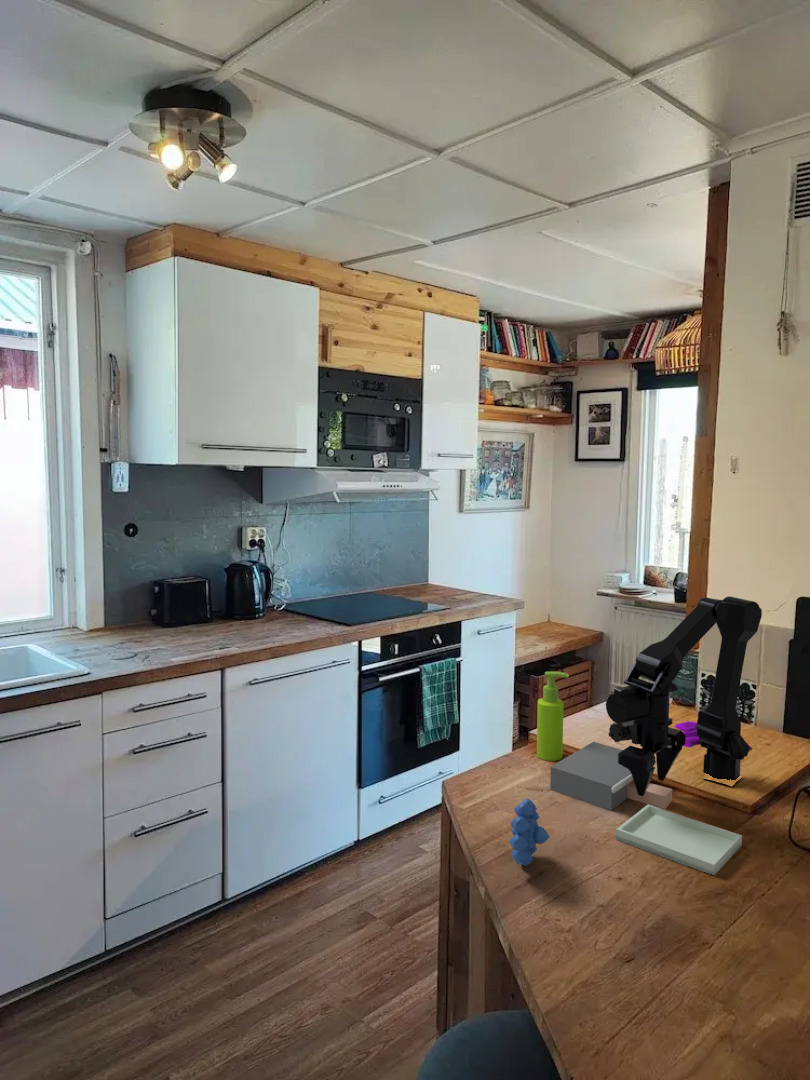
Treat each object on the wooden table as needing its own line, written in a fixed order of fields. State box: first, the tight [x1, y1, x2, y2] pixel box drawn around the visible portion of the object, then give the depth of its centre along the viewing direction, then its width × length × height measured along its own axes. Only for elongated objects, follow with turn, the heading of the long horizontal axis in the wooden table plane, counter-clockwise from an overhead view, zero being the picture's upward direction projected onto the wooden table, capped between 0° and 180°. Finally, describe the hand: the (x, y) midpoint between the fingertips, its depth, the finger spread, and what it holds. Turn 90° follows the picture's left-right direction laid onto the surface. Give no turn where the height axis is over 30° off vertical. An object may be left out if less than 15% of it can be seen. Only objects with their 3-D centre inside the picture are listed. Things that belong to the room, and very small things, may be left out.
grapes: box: [508, 798, 550, 867], centre depth 134 cm, size 12×7×12 cm, turn 159°
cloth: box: [674, 721, 752, 749], centre depth 192 cm, size 22×19×6 cm
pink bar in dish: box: [626, 780, 673, 810], centre depth 161 cm, size 14×4×3 cm, turn 52°
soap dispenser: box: [536, 671, 570, 762], centre depth 180 cm, size 6×7×20 cm
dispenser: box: [549, 741, 657, 811], centre depth 165 cm, size 15×18×5 cm
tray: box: [615, 804, 743, 876], centre depth 142 cm, size 18×13×2 cm
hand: (651, 787), depth 158 cm, fingers open, 9 cm apart
